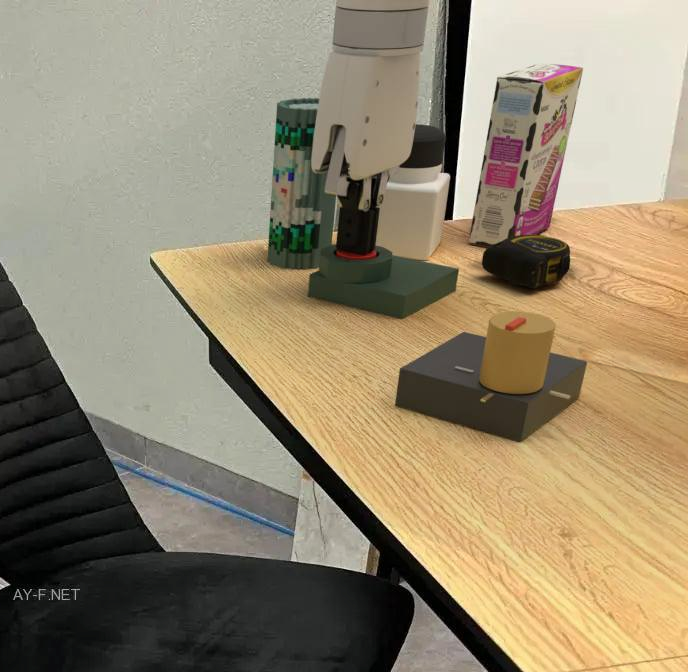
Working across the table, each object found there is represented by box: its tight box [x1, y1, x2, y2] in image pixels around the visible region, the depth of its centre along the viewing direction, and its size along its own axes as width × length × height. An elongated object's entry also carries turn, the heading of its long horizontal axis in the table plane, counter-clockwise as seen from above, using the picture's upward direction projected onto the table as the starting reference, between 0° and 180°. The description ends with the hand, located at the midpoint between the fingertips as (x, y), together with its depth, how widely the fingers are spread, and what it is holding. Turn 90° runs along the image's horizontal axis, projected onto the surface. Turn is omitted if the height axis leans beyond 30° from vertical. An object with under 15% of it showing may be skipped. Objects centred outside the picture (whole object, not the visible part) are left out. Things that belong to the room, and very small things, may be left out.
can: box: [267, 97, 337, 271], centre depth 113 cm, size 6×6×15 cm
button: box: [336, 250, 376, 260], centre depth 106 cm, size 4×4×2 cm
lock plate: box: [394, 331, 588, 443], centre depth 84 cm, size 12×12×3 cm
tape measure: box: [481, 234, 571, 289], centre depth 109 cm, size 7×7×4 cm
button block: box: [307, 243, 460, 320], centre depth 107 cm, size 10×10×4 cm
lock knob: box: [479, 310, 557, 394], centre depth 80 cm, size 4×4×5 cm
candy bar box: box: [467, 63, 584, 248], centre depth 118 cm, size 11×5×16 cm, turn 141°
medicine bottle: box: [376, 123, 451, 262], centre depth 116 cm, size 7×7×12 cm
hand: (355, 250), depth 105 cm, fingers closed
